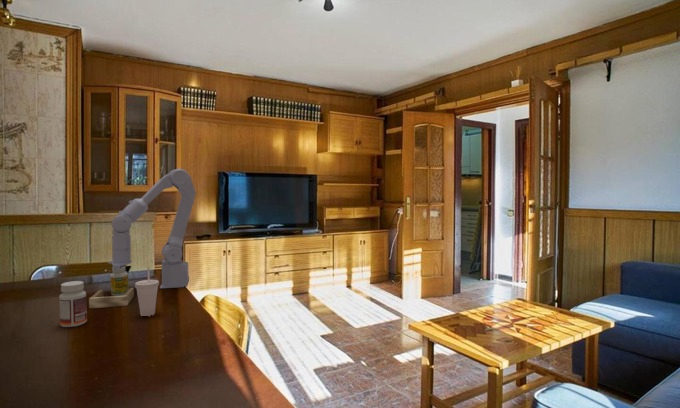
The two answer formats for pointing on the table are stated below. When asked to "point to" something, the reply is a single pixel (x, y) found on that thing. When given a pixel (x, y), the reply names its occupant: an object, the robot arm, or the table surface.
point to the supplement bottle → (119, 282)
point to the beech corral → (110, 299)
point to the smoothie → (147, 295)
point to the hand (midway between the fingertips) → (121, 286)
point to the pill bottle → (72, 304)
